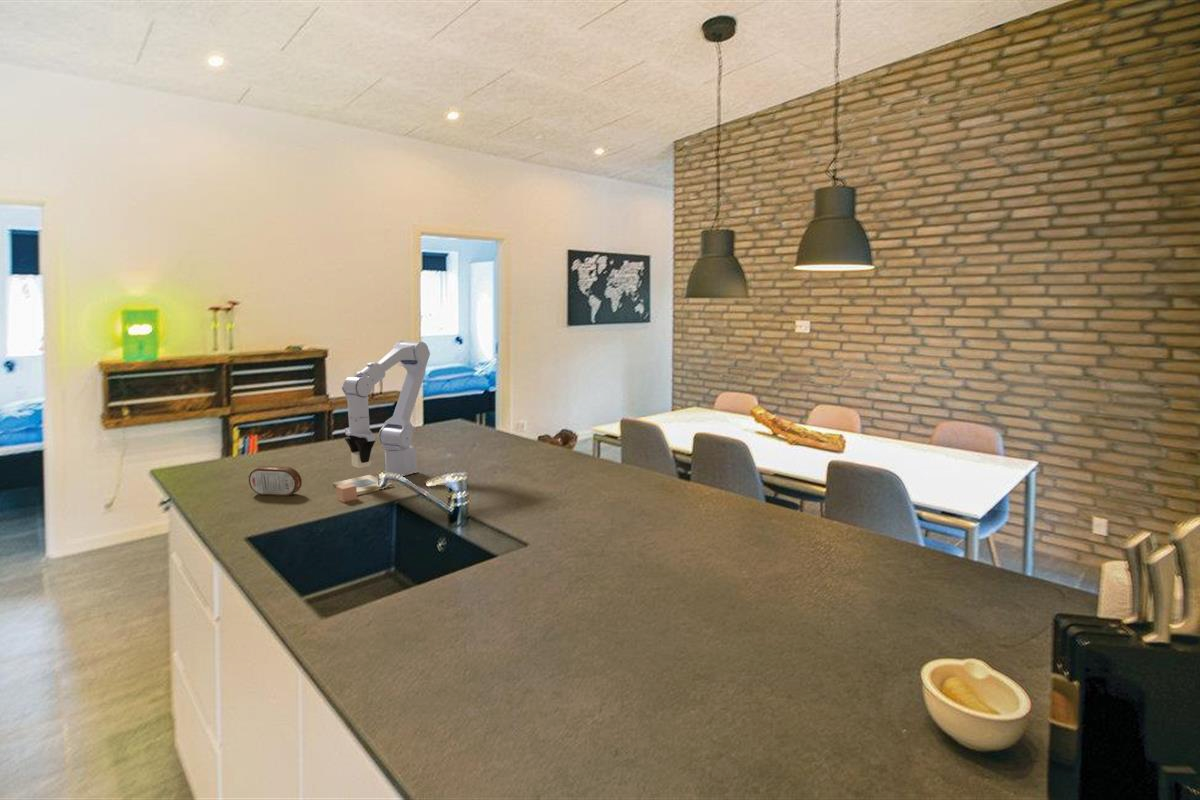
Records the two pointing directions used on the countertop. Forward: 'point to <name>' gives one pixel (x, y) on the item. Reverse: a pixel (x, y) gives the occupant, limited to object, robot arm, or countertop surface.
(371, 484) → the base board
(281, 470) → the tin
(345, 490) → the block top
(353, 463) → the block base
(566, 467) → the countertop surface
